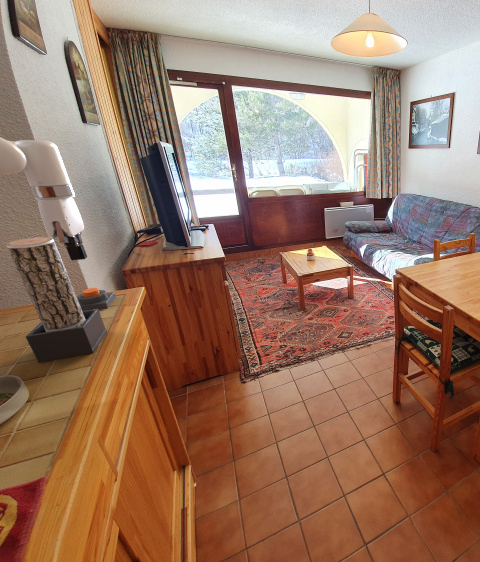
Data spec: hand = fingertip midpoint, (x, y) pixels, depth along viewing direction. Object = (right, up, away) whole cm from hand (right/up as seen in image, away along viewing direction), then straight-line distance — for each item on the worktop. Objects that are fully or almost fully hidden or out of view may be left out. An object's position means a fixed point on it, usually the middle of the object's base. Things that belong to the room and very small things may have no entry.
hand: (79, 258), depth 87 cm
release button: (0, -11, +4) cm, 12 cm away
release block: (0, -14, +5) cm, 15 cm away
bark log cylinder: (+12, -21, -14) cm, 28 cm away
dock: (+12, -22, -14) cm, 29 cm away
